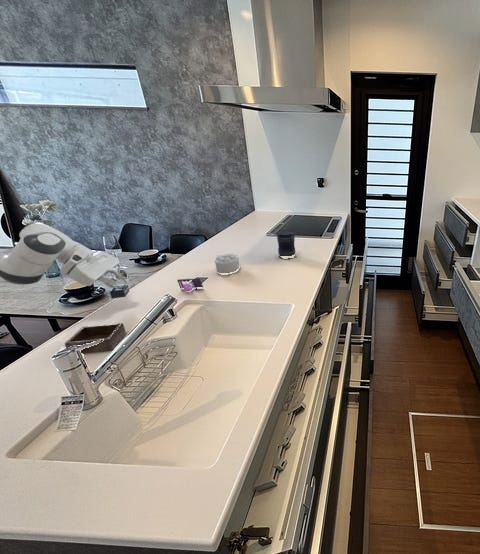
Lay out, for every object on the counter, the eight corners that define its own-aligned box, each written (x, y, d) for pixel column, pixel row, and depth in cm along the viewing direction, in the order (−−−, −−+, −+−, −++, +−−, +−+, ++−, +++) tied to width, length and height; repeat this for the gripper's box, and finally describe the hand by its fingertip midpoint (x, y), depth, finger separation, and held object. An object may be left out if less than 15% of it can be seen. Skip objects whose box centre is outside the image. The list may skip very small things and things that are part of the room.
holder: (69, 354, 94) (64, 343, 93) (86, 337, 103) (82, 326, 101) (112, 350, 97) (108, 339, 96) (126, 333, 106) (123, 323, 104)
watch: (131, 296, 119) (123, 270, 114) (106, 299, 116) (96, 272, 111) (135, 290, 123) (127, 265, 119) (111, 292, 121) (102, 267, 116)
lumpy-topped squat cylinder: (241, 266, 165) (239, 251, 161) (235, 276, 153) (233, 260, 149) (221, 267, 163) (218, 251, 159) (213, 276, 151) (210, 260, 148)
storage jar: (284, 252, 188) (282, 229, 182) (298, 255, 185) (297, 231, 179) (275, 257, 179) (273, 233, 173) (289, 260, 176) (288, 235, 170)
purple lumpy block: (200, 277, 135) (177, 278, 133) (198, 285, 131) (174, 286, 129) (204, 287, 139) (182, 289, 137) (202, 295, 136) (179, 297, 133)
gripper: (90, 254, 121) (126, 275, 127) (56, 274, 103) (99, 297, 109) (100, 243, 120) (135, 265, 126) (67, 261, 102) (110, 285, 108)
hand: (118, 280), depth 118 cm, fingers closed on watch, 4 cm apart
